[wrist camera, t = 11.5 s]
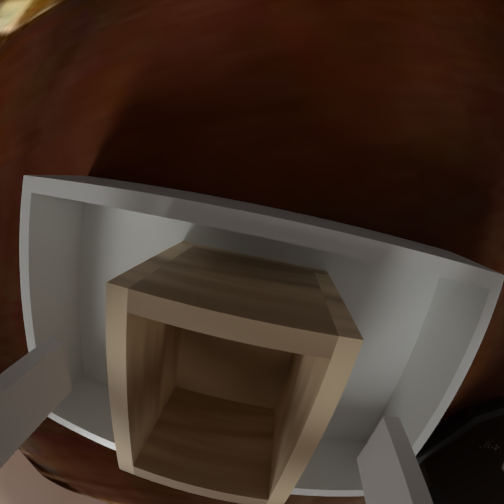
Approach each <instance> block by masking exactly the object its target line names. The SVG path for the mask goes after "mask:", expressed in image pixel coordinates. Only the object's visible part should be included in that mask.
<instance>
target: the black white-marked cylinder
mask: <svg viewBox="0 0 504 504" xmlns="http://www.w3.org/2000/svg"><path fill="white" fill-rule="evenodd" d="M415 457H416V459H417V462H418V464H419V467H420V469H421V472H422V474H423V477H424V480H425V482H426V485H427V487H431V486H436V487H437V488H438V489H439V490H440V491H441V492H442V493H443V494H444V497H445V499H446V502H447V504H504V399H503V398H501V397H499V398H496V399H493V400H490V401H487V402H484V403H480V404H477V405H473V406H470V407H466V408H463V409H461V410H460V411H459V412H457V413H456V414H455V415H453V416H452V417H451V418H449V419H448V420H446V421H445V422H443V423H442V424H440V425H439V426H438V427H436V428H435V429H434V431H433V432H432V434H431V435H430V437H429V438H428V439H427V441H426V442H425V444H424V445H423V447H422V448H421V449H420V451H419V452H418V454H417V455H416V456H415Z"/></svg>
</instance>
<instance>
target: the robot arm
mask: <svg viewBox="0 0 504 504" xmlns="http://www.w3.org/2000/svg"><path fill="white" fill-rule="evenodd" d="M71 391H72V387H71V381H70V375H69V369H68V362H67V354H66V346H65V341H62V340H60V339H58V338H56V337H54V336H51V337H49V338H48V339H47V340H45V341H44V342H43V343H41V344H40V345H39V346H37V347H36V348H34V349H33V350H32V351H30V352H29V353H28V354H26V355H25V356H24V357H22V358H21V359H20V360H18V361H17V362H16V363H14V364H13V365H12V366H10V367H9V368H8V369H6V370H5V371H4V372H3V373H1V374H0V468H1V467H2V466H3V465H4V464H5V463H6V461H7V460H8V459H9V458H10V457H11V456H12V455H13V454H14V452H15V451H16V450H17V449H18V448H19V447H20V446H21V445H22V444H23V443H24V441H25V440H26V439H27V438H28V437H29V436H30V435H31V434H32V433H33V432H34V430H35V429H36V428H37V427H38V426H39V425H40V424H41V423H42V422H43V421H44V420H45V419H46V417H47V416H48V415H49V414H50V413H51V412H52V411H53V410H54V409H55V408H56V407H57V406H58V405H59V404H60V402H61V401H62V400H63V399H64V398H65V397H66V396H67V395H68V394H69V393H70V392H71ZM357 463H358V468H359V472H360V477H361V482H362V487H363V492H364V497H365V503H366V504H447V502H446V499H445V497H444V494H443V493H442V492H441V491H440V490H439V489H438V488H437V487H436V486H431V487H427V485H426V482H425V480H424V477H423V474H422V472H421V469H420V467H419V464H418V462H417V459H416V457H415V454H414V452H413V449H412V447H411V444H410V442H409V440H408V437H407V435H406V432H405V430H404V428H403V425H402V423H401V421H400V418H399V417H385V416H383V417H382V419H381V421H380V422H379V424H378V426H377V427H376V429H375V431H374V432H373V434H372V436H371V437H370V439H369V440H368V442H367V444H366V445H365V447H364V448H363V450H362V451H361V453H360V454H359V456H358V457H357Z"/></svg>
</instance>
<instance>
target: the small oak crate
mask: <svg viewBox="0 0 504 504" xmlns="http://www.w3.org/2000/svg"><path fill="white" fill-rule="evenodd" d="M363 341H364V339H363V337H362V336H361V334H360V332H359V330H358V328H357V326H356V324H355V322H354V320H353V318H352V316H351V315H350V313H349V311H348V309H347V307H346V305H345V303H344V302H343V300H342V298H341V296H340V294H339V292H338V291H337V289H336V287H335V285H334V283H333V281H332V280H331V278H330V276H329V274H328V272H327V271H323V270H318V269H313V268H308V267H303V266H299V265H294V264H289V263H284V262H280V261H275V260H270V259H265V258H261V257H256V256H251V255H247V254H242V253H237V252H232V251H228V250H223V249H218V248H214V247H209V246H204V245H200V244H195V243H190V242H185V241H182V242H180V243H178V244H176V245H174V246H172V247H170V248H168V249H167V250H165V251H163V252H161V253H159V254H157V255H155V256H153V257H152V258H150V259H148V260H146V261H144V262H142V263H140V264H139V265H137V266H135V267H133V268H131V269H129V270H128V271H126V272H124V273H122V274H120V275H118V276H117V277H115V278H113V279H111V280H109V281H108V282H106V356H107V375H108V388H109V399H110V409H111V418H112V426H113V433H114V440H115V446H116V453H117V458H118V464H119V469H121V470H124V471H126V472H129V473H131V474H134V475H137V476H139V477H142V478H145V479H148V480H151V481H154V482H157V483H160V484H163V485H166V486H169V487H172V488H176V489H179V490H183V491H186V492H190V493H194V494H198V495H202V496H206V497H210V498H215V499H220V500H225V501H230V502H235V503H241V504H284V503H285V502H286V500H287V498H288V497H289V495H290V494H291V492H292V490H293V489H294V487H295V485H296V484H297V482H298V480H299V478H300V477H301V475H302V473H303V471H304V470H305V468H306V466H307V464H308V463H309V461H310V459H311V457H312V455H313V453H314V451H315V449H316V448H317V446H318V444H319V442H320V440H321V438H322V436H323V434H324V432H325V430H326V428H327V426H328V424H329V422H330V420H331V417H332V415H333V413H334V411H335V409H336V407H337V405H338V402H339V400H340V398H341V396H342V393H343V391H344V389H345V386H346V384H347V382H348V379H349V377H350V374H351V372H352V370H353V367H354V365H355V362H356V359H357V357H358V354H359V352H360V349H361V346H362V344H363Z"/></svg>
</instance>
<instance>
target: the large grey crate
mask: <svg viewBox="0 0 504 504" xmlns="http://www.w3.org/2000/svg"><path fill="white" fill-rule="evenodd" d="M182 241H185V242H190V243H195V244H200V245H204V246H209V247H214V248H218V249H223V250H228V251H232V252H237V253H242V254H247V255H251V256H256V257H261V258H265V259H270V260H275V261H280V262H284V263H289V264H294V265H299V266H303V267H308V268H313V269H318V270H323V271H327V272H328V274H329V276H330V278H331V280H332V281H333V283H334V285H335V287H336V289H337V291H338V292H339V294H340V296H341V298H342V300H343V302H344V303H345V305H346V307H347V309H348V311H349V313H350V315H351V316H352V318H353V320H354V322H355V324H356V326H357V328H358V330H359V332H360V334H361V336H362V337H363V339H364V341H363V344H362V346H361V349H360V352H359V354H358V357H357V359H356V362H355V365H354V367H353V370H352V372H351V374H350V377H349V379H348V382H347V384H346V386H345V389H344V391H343V393H342V396H341V398H340V400H339V402H338V405H337V407H336V409H335V411H334V413H333V415H332V417H331V420H330V422H329V424H328V426H327V428H326V430H325V432H324V434H323V436H322V438H321V440H320V442H319V444H318V446H317V448H316V449H315V451H314V453H313V455H312V457H311V459H310V461H309V463H308V464H307V466H306V468H305V470H304V471H303V473H302V475H301V477H300V478H299V480H298V482H297V484H296V485H295V487H294V489H293V490H292V492H291V494H296V495H310V496H364V492H363V487H362V482H361V477H360V472H359V468H358V463H357V457H358V456H359V454H360V453H361V451H362V450H363V448H364V447H365V445H366V444H367V442H368V440H369V439H370V437H371V436H372V434H373V432H374V431H375V429H376V427H377V426H378V424H379V422H380V421H381V419H382V417H383V416H385V417H399V418H400V421H401V423H402V425H403V428H404V430H405V432H406V435H407V437H408V440H409V442H410V444H411V447H412V449H413V452H414V454H415V456H416V455H417V454H418V452H419V451H420V449H421V448H422V447H423V445H424V444H425V442H426V441H427V439H428V438H429V437H430V435H431V434H432V432H433V431H434V429H435V428H436V426H437V424H438V423H439V421H440V420H441V418H442V417H443V415H444V413H445V412H446V410H447V408H448V407H449V405H450V403H451V401H452V400H453V398H454V396H455V394H456V393H457V391H458V389H459V387H460V385H461V383H462V381H463V380H464V378H465V376H466V374H467V372H468V370H469V368H470V366H471V364H472V361H473V359H474V357H475V355H476V353H477V351H478V348H479V346H480V344H481V342H482V339H483V337H484V334H485V332H486V330H487V327H488V325H489V322H490V319H491V317H492V314H493V311H494V309H495V306H496V303H497V300H498V297H499V294H500V291H501V288H502V284H503V281H504V275H503V274H501V273H499V272H496V271H494V270H492V269H490V268H487V267H485V266H483V265H481V264H478V263H476V262H474V261H471V260H469V259H467V258H464V257H462V256H459V255H457V254H455V253H452V252H450V251H447V250H443V249H440V248H436V247H433V246H429V245H426V244H422V243H418V242H415V241H411V240H407V239H403V238H400V237H396V236H392V235H388V234H384V233H380V232H376V231H372V230H368V229H364V228H360V227H356V226H352V225H348V224H344V223H340V222H335V221H331V220H327V219H322V218H318V217H314V216H309V215H305V214H300V213H296V212H291V211H286V210H282V209H277V208H272V207H267V206H262V205H258V204H253V203H248V202H243V201H237V200H232V199H227V198H222V197H216V196H211V195H206V194H200V193H194V192H189V191H183V190H177V189H171V188H165V187H159V186H153V185H147V184H140V183H134V182H127V181H120V180H113V179H106V178H99V177H91V176H71V175H24V178H23V187H22V198H21V212H20V240H19V255H20V283H21V297H22V308H23V317H24V325H25V332H26V339H27V345H28V351H29V352H30V351H32V350H33V349H34V348H36V347H37V346H39V345H40V344H41V343H43V342H44V341H45V340H47V339H48V338H49V337H51V336H54V337H56V338H58V339H60V340H62V341H65V346H66V354H67V362H68V369H69V375H70V381H71V387H72V391H71V392H70V393H69V394H68V395H67V396H66V397H65V398H64V399H63V400H62V401H61V402H60V404H59V405H58V406H57V407H56V408H55V409H54V410H53V411H52V412H51V413H50V414H49V415H48V416H47V417H49V418H51V419H53V420H54V421H56V422H58V423H60V424H62V425H63V426H65V427H67V428H69V429H71V430H73V431H75V432H77V433H79V434H81V435H83V436H85V437H87V438H89V439H91V440H93V441H95V442H97V443H100V444H102V445H104V446H106V447H109V448H111V449H113V450H116V446H115V440H114V433H113V426H112V418H111V409H110V399H109V388H108V375H107V356H106V282H108V281H109V280H111V279H113V278H115V277H117V276H118V275H120V274H122V273H124V272H126V271H128V270H129V269H131V268H133V267H135V266H137V265H139V264H140V263H142V262H144V261H146V260H148V259H150V258H152V257H153V256H155V255H157V254H159V253H161V252H163V251H165V250H167V249H168V248H170V247H172V246H174V245H176V244H178V243H180V242H182Z"/></svg>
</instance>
